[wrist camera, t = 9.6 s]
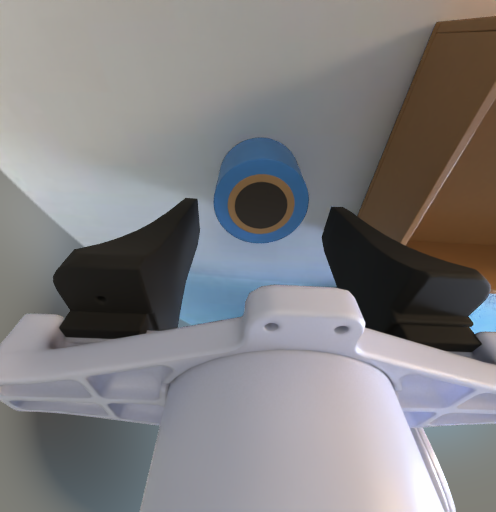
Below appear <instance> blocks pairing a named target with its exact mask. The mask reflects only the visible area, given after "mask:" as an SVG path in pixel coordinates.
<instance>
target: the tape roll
mask: <svg viewBox="0 0 496 512" xmlns="http://www.w3.org/2000/svg"><path fill="white" fill-rule="evenodd" d="M308 203H309V196H308V190H307V187H306V184H305V181H304V179H303V176H302V174H301V171H300V169H299V166H298V164H297V161H296V159H295V157H294V155H293V154H292V153H291V151H290V150H289V149H288V148H287V147H286V146H284V145H283V144H281V143H280V142H278V141H275V140H272V139H269V138H252V139H248V140H245V141H243V142H241V143H239V144H237V145H236V146H235V147H233V148H232V149H231V150H230V151H229V152H228V154H227V155H226V156H225V158H224V160H223V162H222V164H221V168H220V172H219V176H218V181H217V185H216V190H215V194H214V210H215V214H216V216H217V219H218V220H219V222H220V224H221V225H222V227H223V228H224V229H225V230H226V231H227V232H229V233H230V234H231V235H233V236H234V237H236V238H238V239H240V240H243V241H246V242H251V243H269V242H273V241H277V240H279V239H282V238H284V237H286V236H287V235H289V234H290V233H292V232H293V231H294V230H295V229H296V228H297V227H298V226H299V225H300V223H301V222H302V221H303V219H304V217H305V215H306V212H307V209H308Z"/></svg>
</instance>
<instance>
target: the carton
mask: <svg viewBox="0 0 496 512" xmlns="http://www.w3.org/2000/svg"><path fill="white" fill-rule="evenodd" d="M357 217H359V218H360V219H362V220H363V221H364V222H366V223H367V224H369V225H370V226H372V227H373V228H375V229H376V230H378V231H380V232H381V233H383V234H384V235H386V236H388V237H390V238H391V239H393V240H395V241H397V242H399V243H401V244H403V245H405V246H408V247H410V248H412V249H415V250H417V251H419V252H422V253H424V254H427V255H430V256H432V257H435V258H438V259H441V260H444V261H447V262H451V263H454V264H458V265H462V266H466V267H469V268H473V269H476V270H477V271H478V272H479V273H480V274H481V275H482V276H483V277H484V278H485V279H486V280H487V281H488V282H489V283H490V285H491V291H490V293H491V294H496V16H492V17H482V18H472V19H462V20H452V21H443V22H437V23H436V24H435V27H434V29H433V32H432V34H431V37H430V39H429V42H428V44H427V46H426V49H425V51H424V54H423V56H422V59H421V61H420V64H419V66H418V69H417V71H416V73H415V76H414V78H413V81H412V83H411V86H410V88H409V91H408V93H407V96H406V98H405V100H404V103H403V105H402V108H401V110H400V113H399V115H398V118H397V120H396V123H395V125H394V127H393V130H392V132H391V135H390V137H389V140H388V142H387V145H386V147H385V150H384V152H383V154H382V157H381V159H380V162H379V164H378V167H377V169H376V172H375V174H374V177H373V179H372V181H371V184H370V186H369V189H368V191H367V194H366V196H365V199H364V201H363V204H362V206H361V208H360V211H359V213H358V216H357Z"/></svg>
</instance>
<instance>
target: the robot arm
mask: <svg viewBox="0 0 496 512" xmlns="http://www.w3.org/2000/svg"><path fill="white" fill-rule="evenodd" d="M199 233H200V226H199V213H198V200H197V199H193V198H185V199H184V200H182V201H181V202H180V203H179V204H177V205H176V206H175V207H174V208H172V209H171V210H170V211H168V212H167V213H166V214H164V215H163V216H161V217H160V218H158V219H157V220H155V221H154V222H152V223H150V224H149V225H147V226H145V227H143V228H141V229H139V230H137V231H135V232H132V233H130V234H127V235H125V236H123V237H120V238H117V239H114V240H111V241H108V242H104V243H101V244H97V245H93V246H88V247H84V248H79V249H74V251H73V252H72V253H71V254H70V255H69V256H68V257H67V259H66V260H65V261H64V262H63V263H62V265H61V266H60V267H59V268H58V269H57V270H56V272H55V274H54V276H53V282H54V285H55V287H56V289H57V291H58V292H59V294H60V295H61V297H62V298H63V300H64V301H65V303H66V305H67V306H68V308H69V309H70V312H69V313H68V315H67V316H66V318H64V317H62V316H60V315H55V314H34V313H28V314H25V315H24V316H23V317H22V319H21V320H20V321H19V322H18V323H17V325H16V326H15V327H14V328H13V330H12V331H11V332H10V333H9V334H8V335H7V337H6V338H5V339H4V340H3V342H2V343H1V344H0V401H2V402H3V403H5V404H6V405H8V406H10V407H11V408H12V409H14V410H16V411H33V412H34V411H35V412H50V413H63V414H73V415H83V416H91V417H98V418H106V419H113V420H122V421H129V422H137V423H144V424H152V425H160V427H159V432H158V436H157V440H156V444H155V449H154V453H153V457H152V461H151V466H150V470H149V474H148V478H147V483H146V487H145V491H144V496H143V500H142V504H141V508H140V512H456V511H455V506H454V502H453V499H452V496H451V493H450V490H449V488H448V485H447V483H446V480H445V477H444V475H443V472H442V470H441V467H440V465H439V462H438V460H437V458H436V456H435V453H434V451H433V449H432V447H431V444H430V442H429V440H428V438H427V436H426V434H425V432H424V430H423V428H422V427H433V426H448V425H463V424H496V332H479V333H476V334H474V333H473V332H472V330H471V329H470V328H469V327H472V326H473V322H472V321H471V319H470V318H469V317H468V316H469V315H470V314H471V313H472V312H473V311H474V310H476V309H477V308H478V307H479V306H480V305H481V304H482V303H483V302H484V301H485V300H486V298H487V297H488V295H489V293H490V291H491V285H490V283H489V282H488V281H487V280H486V279H485V278H484V277H483V276H482V275H481V274H480V273H479V272H478V271H477V270H476V269H473V268H469V267H466V266H462V265H458V264H454V263H451V262H447V261H444V260H441V259H438V258H435V257H432V256H430V255H427V254H424V253H422V252H419V251H417V250H415V249H412V248H410V247H408V246H405V245H403V244H401V243H399V242H397V241H395V240H393V239H391V238H390V237H388V236H386V235H384V234H383V233H381V232H380V231H378V230H376V229H375V228H373V227H372V226H370V225H369V224H367V223H366V222H364V221H363V220H362V219H360V218H359V217H357V216H356V215H355V214H353V213H352V212H350V211H349V210H347V209H345V208H343V207H332V206H331V209H330V213H329V216H328V219H327V222H326V225H325V229H324V232H323V235H322V242H323V247H324V252H325V255H326V258H327V260H328V263H329V266H330V269H331V271H332V274H333V277H334V279H335V282H336V285H337V288H335V287H313V286H292V285H268V286H261V287H259V288H257V289H256V290H254V291H252V292H251V293H249V295H248V297H247V299H246V301H245V309H244V314H243V316H242V317H237V318H232V319H226V320H220V321H215V322H209V323H203V324H197V325H192V326H186V327H180V328H178V321H179V315H180V310H181V304H182V299H183V293H184V288H185V283H186V280H187V276H188V273H189V270H190V267H191V264H192V261H193V258H194V255H195V252H196V248H197V245H198V239H199Z"/></svg>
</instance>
